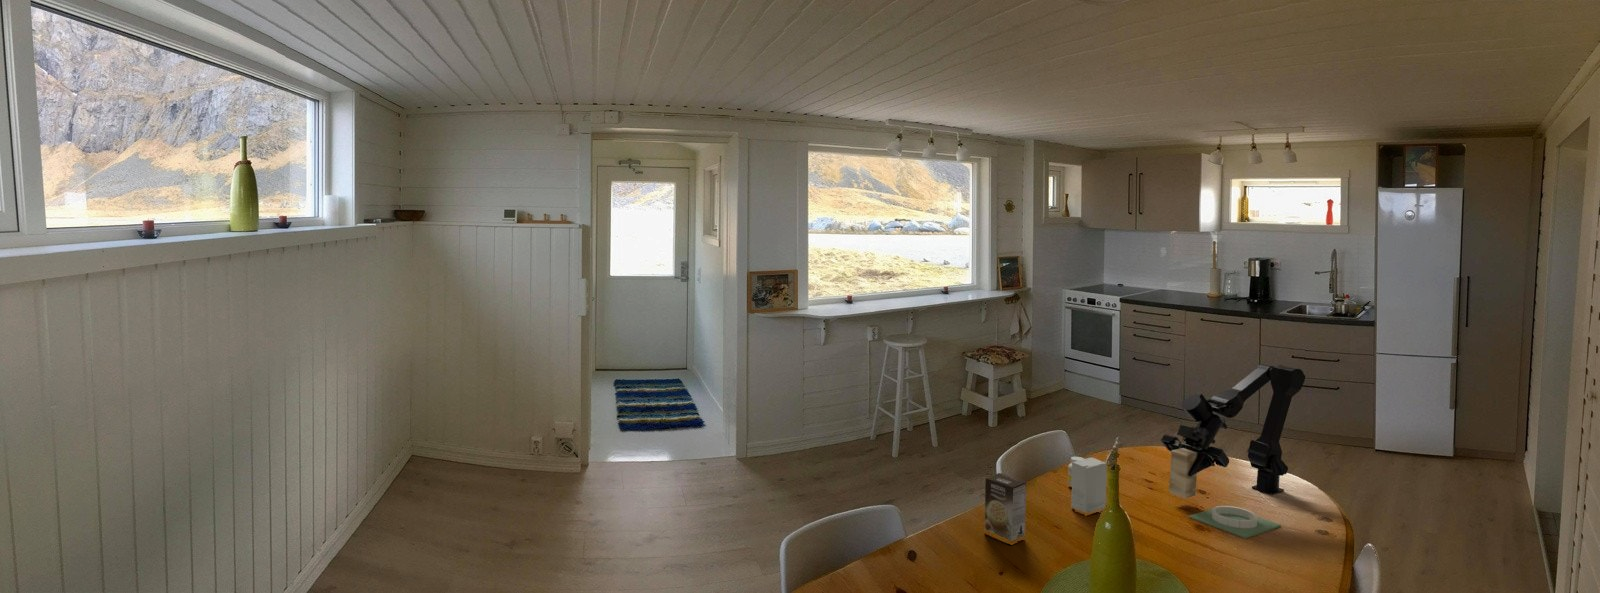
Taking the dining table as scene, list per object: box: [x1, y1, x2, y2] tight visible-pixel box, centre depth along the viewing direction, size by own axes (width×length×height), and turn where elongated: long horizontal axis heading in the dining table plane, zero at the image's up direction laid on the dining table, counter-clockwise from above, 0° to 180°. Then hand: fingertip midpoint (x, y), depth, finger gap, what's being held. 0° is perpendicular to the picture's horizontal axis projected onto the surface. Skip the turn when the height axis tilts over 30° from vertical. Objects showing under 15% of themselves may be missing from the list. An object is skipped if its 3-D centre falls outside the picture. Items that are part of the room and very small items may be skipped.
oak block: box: [1168, 448, 1198, 499], centre depth 214 cm, size 5×5×13 cm
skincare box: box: [1070, 457, 1108, 513], centre depth 211 cm, size 8×6×15 cm
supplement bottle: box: [1067, 456, 1085, 486], centre depth 230 cm, size 5×5×10 cm
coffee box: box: [984, 472, 1027, 541], centre depth 193 cm, size 9×6×16 cm
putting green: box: [1188, 505, 1282, 539], centre depth 202 cm, size 16×16×2 cm
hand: (1180, 473), depth 214 cm, fingers closed on oak block, 5 cm apart
